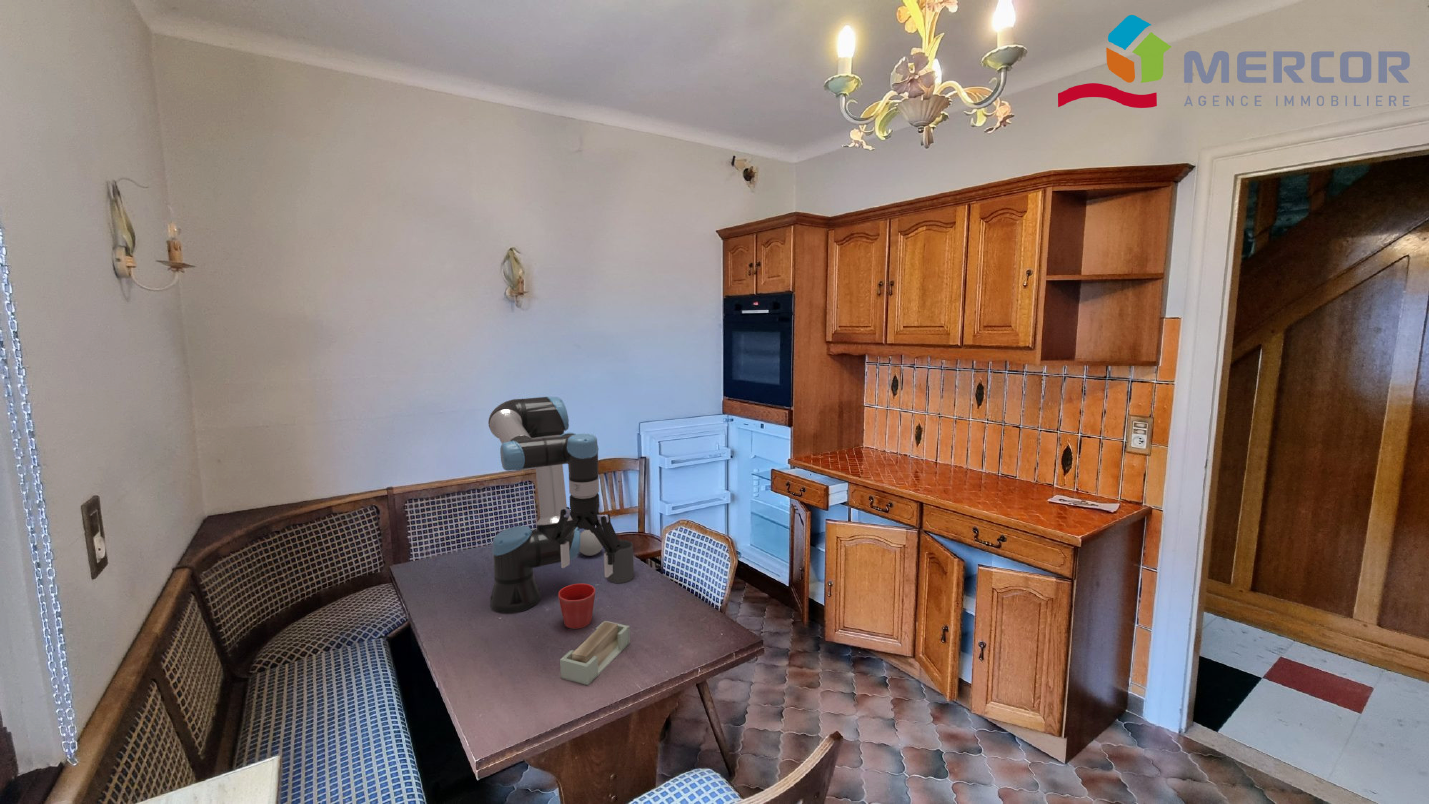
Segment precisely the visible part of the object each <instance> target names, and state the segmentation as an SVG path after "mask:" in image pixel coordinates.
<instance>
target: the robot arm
mask: <svg viewBox="0 0 1429 804" xmlns="http://www.w3.org/2000/svg"><path fill="white" fill-rule="evenodd" d="M487 425H488V427H489V428H488V429H489V430H490V432H491V433H492V435H493V436H494V437H496V438H497V439H499V441H500V443H501V445H500V463H501V465H502V469H503V470H505V471H507V472H509V471H521V470H529V469H535V475H536V484H537V486H536V487H537V493H538V495H537V496H538V504H539V514H540V518H539V520H538V521H537V522H536V524H535V526H536V529H533V530H532V528H530V527H529V526H527V525H522V526H521V525H516V526H512V527H509V528H506V529H504V530H502V531H500V532H498V533H497V534H496V535H495V536H494V537H493V539H492V550H491V553H492V557H493V572H494V573H493V574H494V575H493V577H494V583H493V587H492V589H491V590H492V591H491V594H490V598H489V604H490V605H489V607H490V608H491V610H492V611H494V612H496V613H500V614H516V613H520V612H523V611H527V610H529V609H532V608H533V607H535V606H536V605H538V603H539V602H540V601H541V590H540V587H538V584H537V581H536V579H535V576H534V568H540V567H544V566H549V565H553V564H558V563H560V566H561V567H560V568H562V569H565V568H567V566H570V564H571V563H570V561H572V560H574V559H576V558H577V557H578V556H579V553H580V551H579V550H580V534H581V531H580V530H590V531H591V533H594V535H595V536H596V538H597V539H598V541H599V542H600V543H601V545H602V546H603V548H602V549H604V553H603V566H604V578H607V579H608V577H609V576H610V575H611V574H613V564H614V562H615V553H616V552H617V551H619V550H620V549H621V548H622V547H621V544H620V542H619V540H620V539H619V538H618V536H617V533H616V531H615V529H614V527H613V524H612V522H611V516H610V515H611V514H609V513H606V514H600V512H599V510H600V494H599V492H600V481H599V479H600V478H599V446H598V438H597V437H596V435H594V434H590V433H577V434H576V433H574V432H570V431H569V432H568V429H569V426H570V425H569V415H568V410H567V407H566V405H565V403H564V401H563V399H562V398H561V397H558V396H541V397H540V396H539V397H530V398H529V397H526V398H514V399H510V400H506V401H504V402H502V403H500V404H499V405H497V406H496V407H495V408H494V409H493V410H492V411H491V413H490V415H489V417H488V424H487ZM566 431H567V432H566ZM564 465H567V466H568V489H569V506H568V503H567V494H566V484H565V474H564V473H565V472H564ZM609 547H610V548H609ZM605 551H606V553H605Z"/></svg>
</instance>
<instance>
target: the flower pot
mask: <svg viewBox="0 0 1429 804" xmlns="http://www.w3.org/2000/svg"><path fill="white" fill-rule="evenodd" d="M557 595H558V596H557V597H558V602H559V606H560V611H561V615H562V618H563V619H562V620H563V623H564V626H566V628H569V629H575V630H577V629H583V628H586V627H588V625H590V624H591V622H592V619H593V611H594V605H595V604H594V603H595V599H596V588H595V587H594V586H593V585H591V584H589V583H574V584H573V583H572V584H570V585H567V586H564V587H562V588H561V589H560V590H559V591H558V594H557Z"/></svg>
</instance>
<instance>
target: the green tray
mask: <svg viewBox="0 0 1429 804" xmlns="http://www.w3.org/2000/svg"><path fill="white" fill-rule="evenodd" d="M604 622H609V623H614V624H618V645H617V646H616V648H615V649H614V650H613V651H612V652H611V653H610V654H609V655H608V656H607V657H606V659H605V660H604V661H603V662H602V663H601V664H600V665H599V666H598V657H597V656H593V657H592V658H591V659H590V660H589V661H588V662H587V663H582V662H578V661H574V660H572V653H573V652H574V651H575V650H573V649H571V650H569V651H567V653H566V654H565V655H563V656H562V658H560V659H559V664H560V669H559V670H560V678H561V679H563V680H566V681H570V682H574V683H577V684H581V685H585V686H589V685H590V684H591V683H592V682H593V681H594V680H595V679H596V678H597V677H598V676H599V675H600V674H601V673H602V672H603V671H604V670H605V669H606V668H607V667H608V666H609V665H610V664H611V663H612V662H613V661H614V660H615V659H616V658H617V657H618V656H619V655H620V654H621V653H622V652H623V651H624V650H625V649H626V648H627V647H628V646H629V644H631V635H630V634H631V633H630V625H626V624H621V623H617V622H612V621H608V620H604V621H602V622H601V624H599V625H598V626H597V627H596V628H595V631H596V630H597V629H598V628H599V627H600V626H601V625H602V624H603V623H604Z"/></svg>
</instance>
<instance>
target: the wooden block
mask: <svg viewBox="0 0 1429 804" xmlns="http://www.w3.org/2000/svg"><path fill="white" fill-rule="evenodd" d="M603 622H604V621H603ZM603 622H602V623H603ZM609 622H610V621H608V622H604V623H603V624H602V625H601V626H600V627H599V628H598V629H597V630H596V629H595V631H593V633H591V634H590V636H588V637H587V638H586V639H585V640H584V642H582V643H581V644H580V645H579V646H578V647H577V648H576V649H575V650H573V651H574V652H573V653H572V660H574V661H578V662H582V663H587V662H588V661H589V660H590V659H591V658H592V657H593V656H597V657H598V666H599V665H600V664H601V663H602V662H603V661H604V660H605V659H606V657H607V656H608V655H609V654H610V653H611V652H612V651H613V650H614V649H615V648H616V646H617V645H618V624H619V623H617V624H614V623H615V622H613V623H609Z"/></svg>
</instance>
